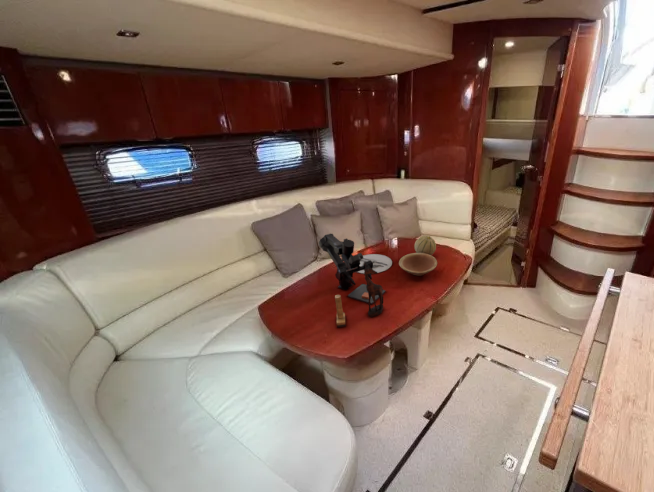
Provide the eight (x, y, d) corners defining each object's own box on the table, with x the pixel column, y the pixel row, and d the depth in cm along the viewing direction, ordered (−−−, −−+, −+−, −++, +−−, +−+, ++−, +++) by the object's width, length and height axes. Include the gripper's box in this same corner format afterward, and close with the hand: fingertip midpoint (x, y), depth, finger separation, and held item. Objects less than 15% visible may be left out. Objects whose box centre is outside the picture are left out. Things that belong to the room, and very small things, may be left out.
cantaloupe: (413, 252, 217) (413, 232, 210) (433, 250, 218) (433, 231, 211) (416, 261, 204) (416, 240, 197) (437, 259, 205) (438, 239, 198)
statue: (372, 321, 148) (367, 267, 134) (362, 315, 152) (357, 262, 138) (388, 310, 156) (385, 258, 142) (378, 305, 160) (375, 254, 146)
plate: (400, 260, 206) (400, 258, 205) (375, 278, 185) (375, 276, 185) (367, 251, 219) (367, 250, 219) (341, 267, 199) (341, 265, 198)
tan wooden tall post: (337, 317, 152) (333, 292, 144) (345, 316, 152) (341, 291, 145) (337, 327, 145) (333, 301, 138) (345, 326, 145) (342, 300, 138)
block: (361, 297, 165) (361, 295, 164) (364, 293, 168) (364, 292, 168) (368, 299, 164) (368, 297, 163) (371, 295, 167) (371, 293, 166)
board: (347, 296, 168) (347, 295, 167) (362, 285, 178) (362, 283, 178) (371, 304, 161) (371, 303, 160) (385, 291, 171) (385, 290, 171)
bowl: (393, 277, 185) (393, 266, 181) (407, 261, 204) (407, 250, 201) (430, 284, 177) (430, 272, 173) (441, 266, 196) (441, 255, 193)
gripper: (333, 254, 149) (347, 276, 141) (367, 245, 158) (381, 265, 150) (332, 269, 157) (345, 291, 149) (364, 260, 166) (378, 280, 158)
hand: (363, 281), depth 151 cm, fingers open, 9 cm apart
